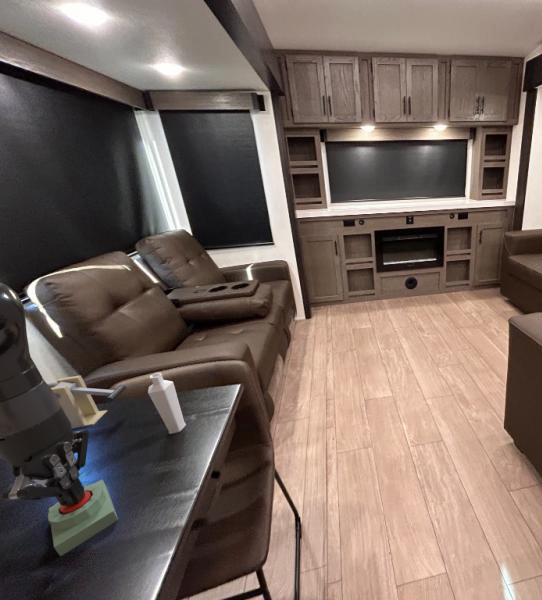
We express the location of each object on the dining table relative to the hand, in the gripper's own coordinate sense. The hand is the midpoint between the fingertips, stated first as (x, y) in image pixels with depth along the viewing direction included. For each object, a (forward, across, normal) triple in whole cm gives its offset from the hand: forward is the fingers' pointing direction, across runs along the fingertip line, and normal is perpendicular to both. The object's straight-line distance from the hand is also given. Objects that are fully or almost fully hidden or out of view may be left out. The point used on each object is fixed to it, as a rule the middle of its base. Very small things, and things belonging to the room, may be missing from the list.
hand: (75, 500), depth 52 cm
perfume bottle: (+4, -19, +6) cm, 20 cm away
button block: (+4, 0, 0) cm, 4 cm away
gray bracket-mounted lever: (-3, -28, -15) cm, 32 cm away
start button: (+2, 0, 0) cm, 2 cm away
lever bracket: (+4, -28, -19) cm, 34 cm away
